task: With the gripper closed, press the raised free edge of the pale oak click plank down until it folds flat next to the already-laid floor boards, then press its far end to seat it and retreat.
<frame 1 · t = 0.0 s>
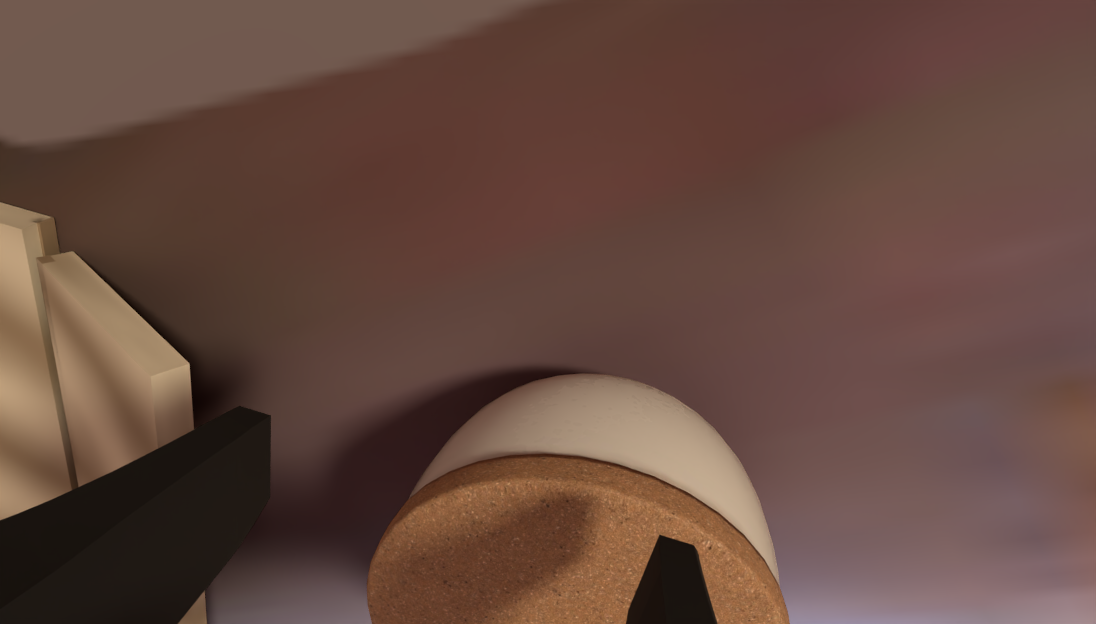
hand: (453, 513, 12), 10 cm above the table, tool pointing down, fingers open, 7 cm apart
lidded jar: (606, 448, 24), on the table
click plank: (136, 525, 27), point 3 cm above the table, hinge at 28.0°
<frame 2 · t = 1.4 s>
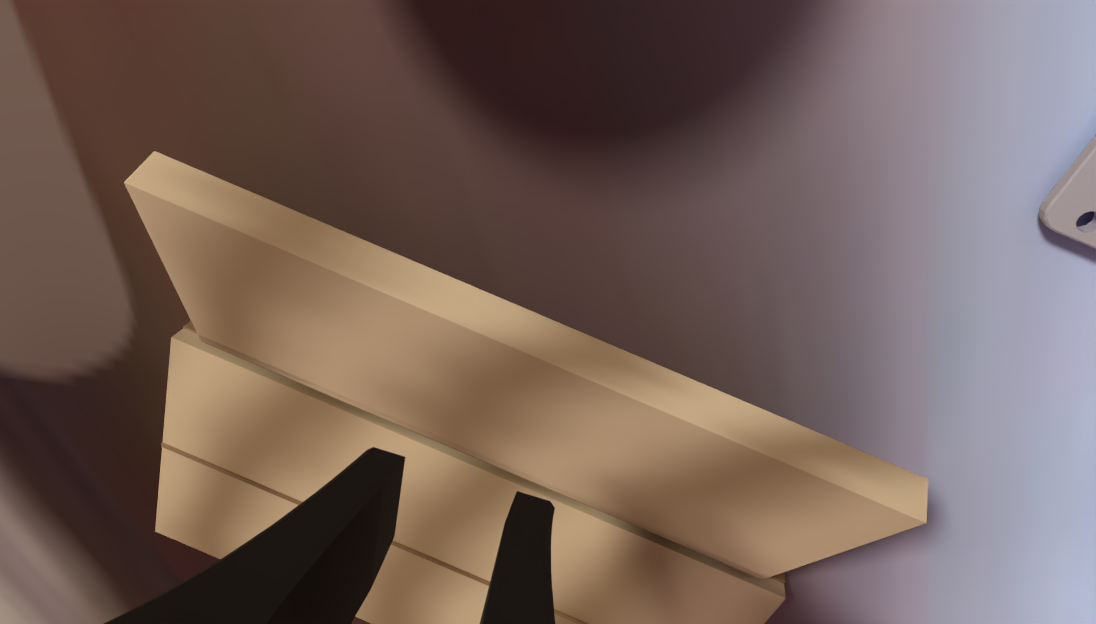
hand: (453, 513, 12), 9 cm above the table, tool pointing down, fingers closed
laid floor: (449, 537, 26), on the table
click plank: (506, 399, 19), point 3 cm above the table, hinge at 28.0°
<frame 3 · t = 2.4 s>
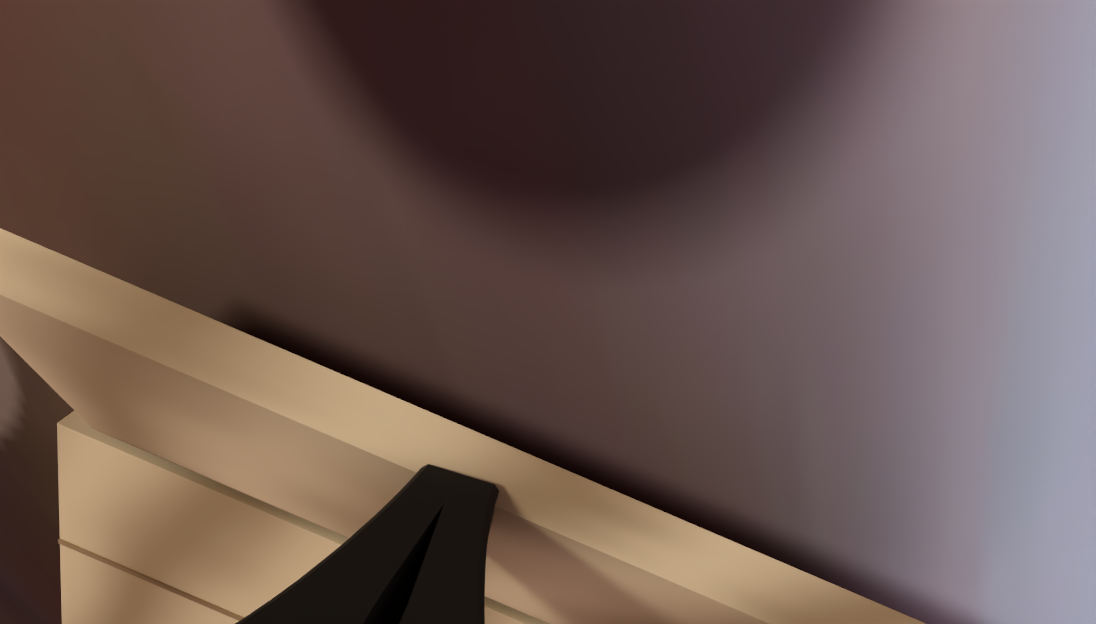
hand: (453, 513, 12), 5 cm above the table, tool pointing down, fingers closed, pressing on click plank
click plank: (455, 519, 15), point 3 cm above the table, hinge at 27.7°, touching gripper
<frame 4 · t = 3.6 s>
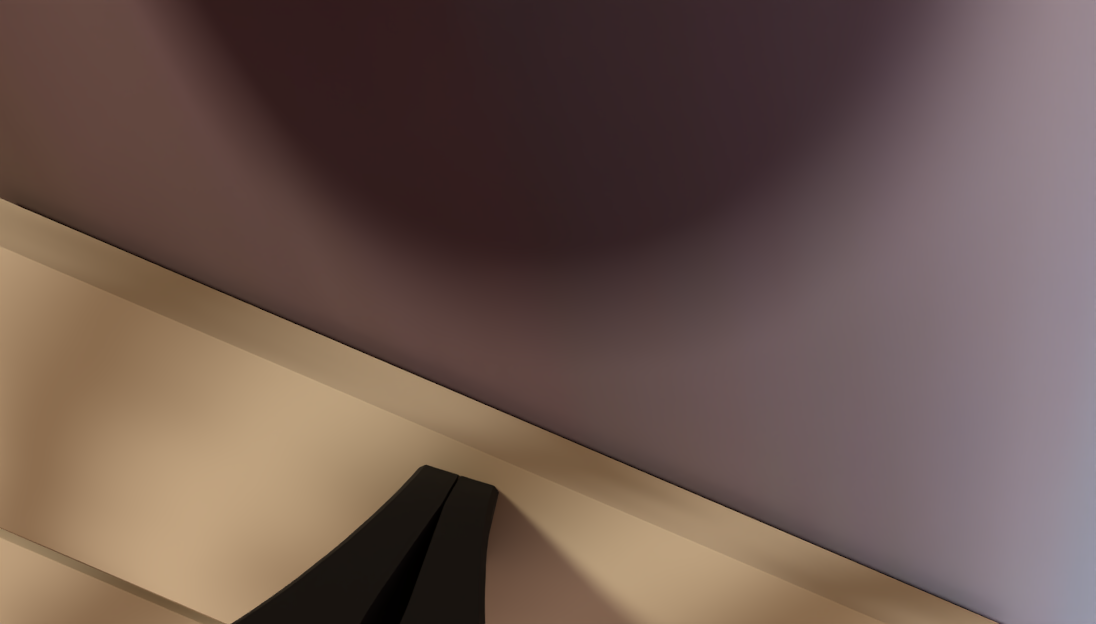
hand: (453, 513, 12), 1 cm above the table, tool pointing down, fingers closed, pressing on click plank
click plank: (433, 567, 14), point 1 cm above the table, hinge at 1.9°, touching gripper
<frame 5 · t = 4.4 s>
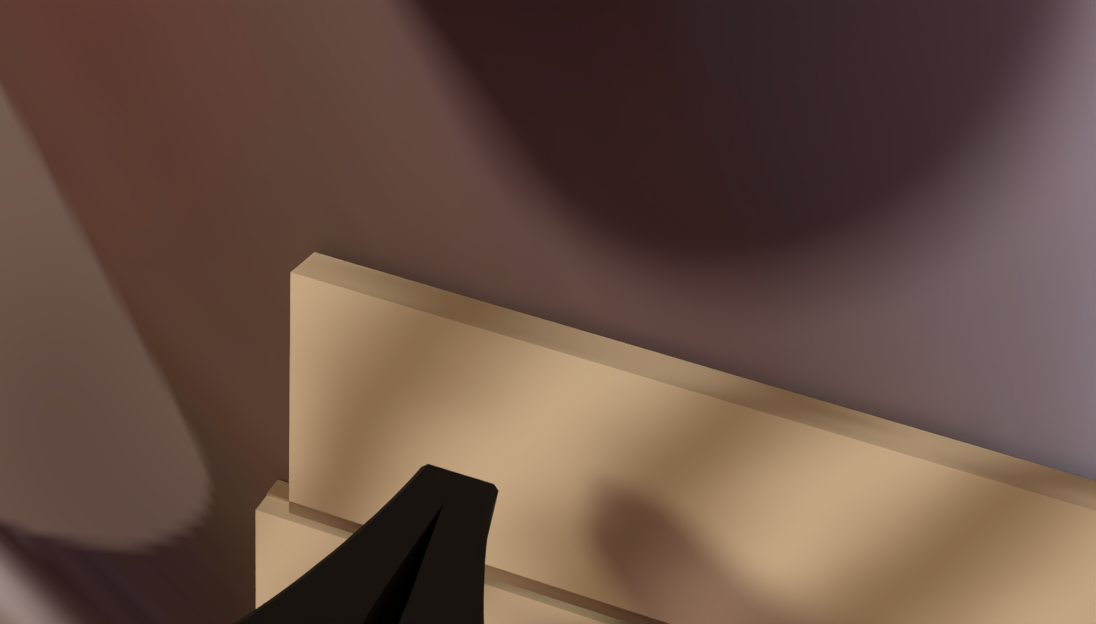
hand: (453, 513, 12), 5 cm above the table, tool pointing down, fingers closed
click plank: (669, 508, 17), point 1 cm above the table, hinge at 1.9°
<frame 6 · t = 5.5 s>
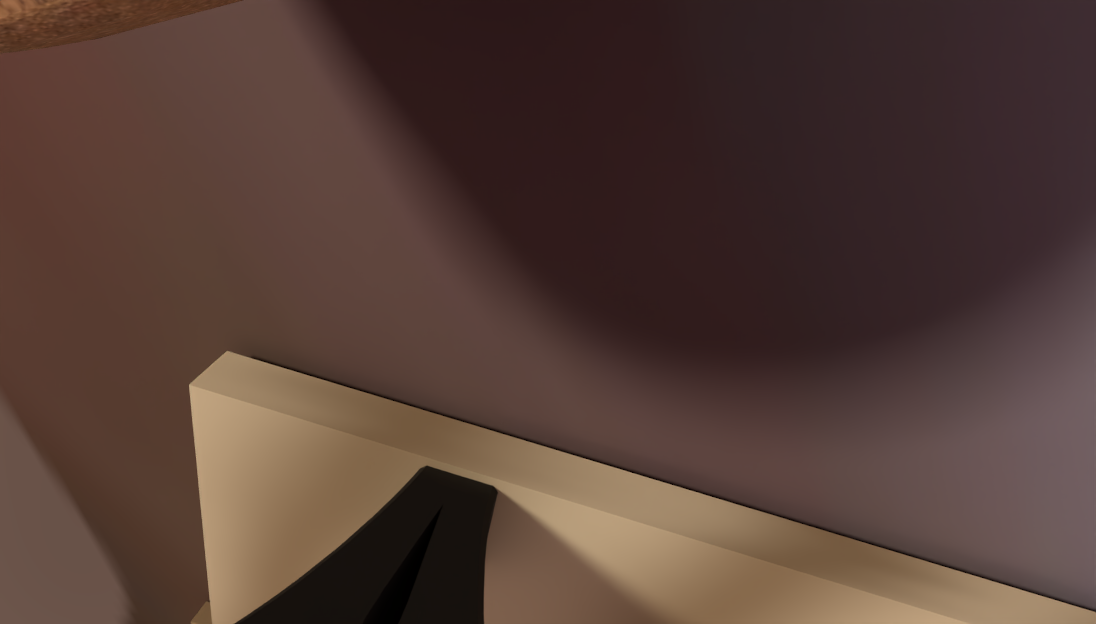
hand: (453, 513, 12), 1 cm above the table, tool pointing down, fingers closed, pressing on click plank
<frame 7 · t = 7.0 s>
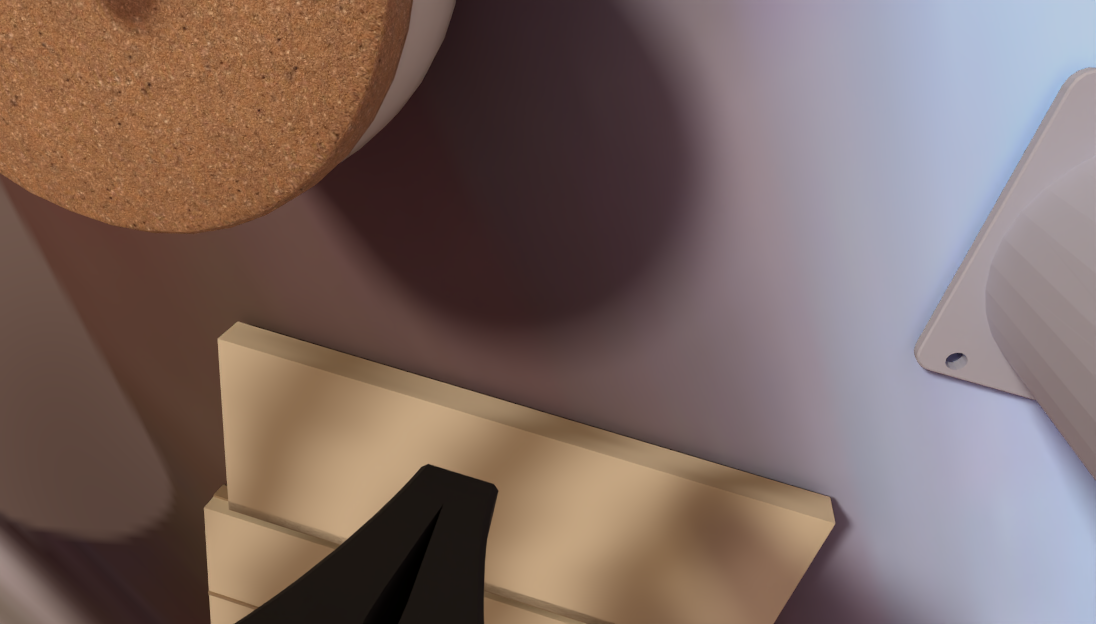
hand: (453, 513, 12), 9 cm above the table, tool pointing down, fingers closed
click plank: (499, 504, 24), point 1 cm above the table, hinge at 1.9°
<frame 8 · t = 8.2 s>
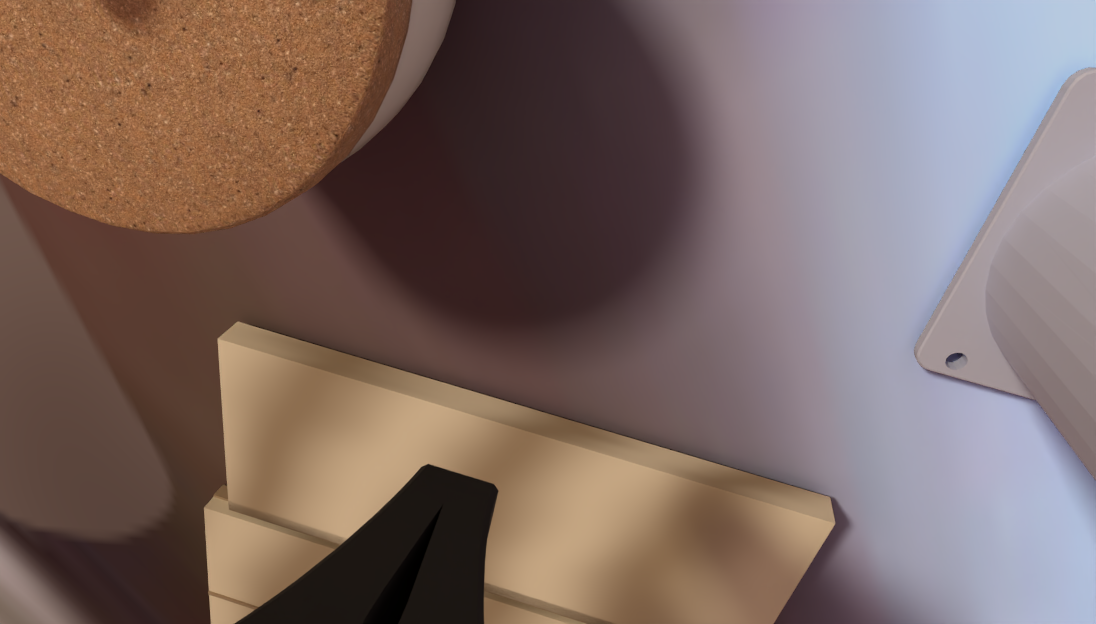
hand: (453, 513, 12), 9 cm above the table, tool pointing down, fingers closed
click plank: (499, 504, 24), point 1 cm above the table, hinge at 1.9°
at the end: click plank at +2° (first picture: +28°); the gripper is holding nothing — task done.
